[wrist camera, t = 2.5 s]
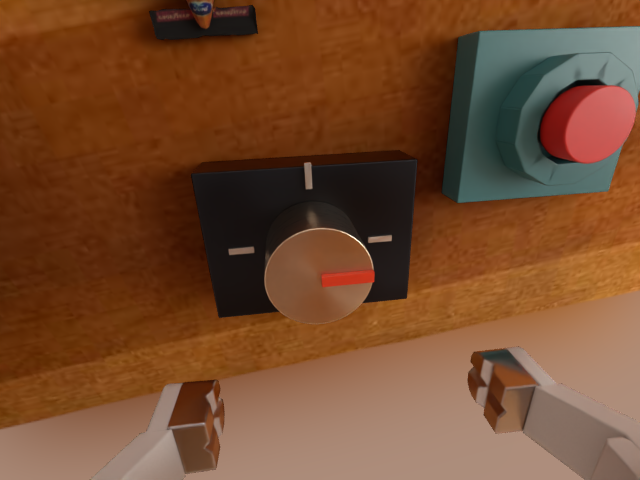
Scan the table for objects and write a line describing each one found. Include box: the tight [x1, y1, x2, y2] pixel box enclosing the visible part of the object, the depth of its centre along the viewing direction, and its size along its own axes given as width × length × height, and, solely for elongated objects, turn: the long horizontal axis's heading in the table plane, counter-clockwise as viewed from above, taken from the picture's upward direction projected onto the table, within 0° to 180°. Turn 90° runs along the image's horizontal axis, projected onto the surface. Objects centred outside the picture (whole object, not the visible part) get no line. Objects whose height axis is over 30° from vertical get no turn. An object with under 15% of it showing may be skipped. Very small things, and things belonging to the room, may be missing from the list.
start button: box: [540, 85, 636, 164], centre depth 17 cm, size 4×4×2 cm
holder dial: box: [264, 201, 375, 324], centre depth 18 cm, size 5×5×4 cm
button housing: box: [442, 26, 640, 203], centre depth 20 cm, size 10×9×4 cm
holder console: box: [191, 150, 417, 318], centre depth 21 cm, size 12×9×3 cm
